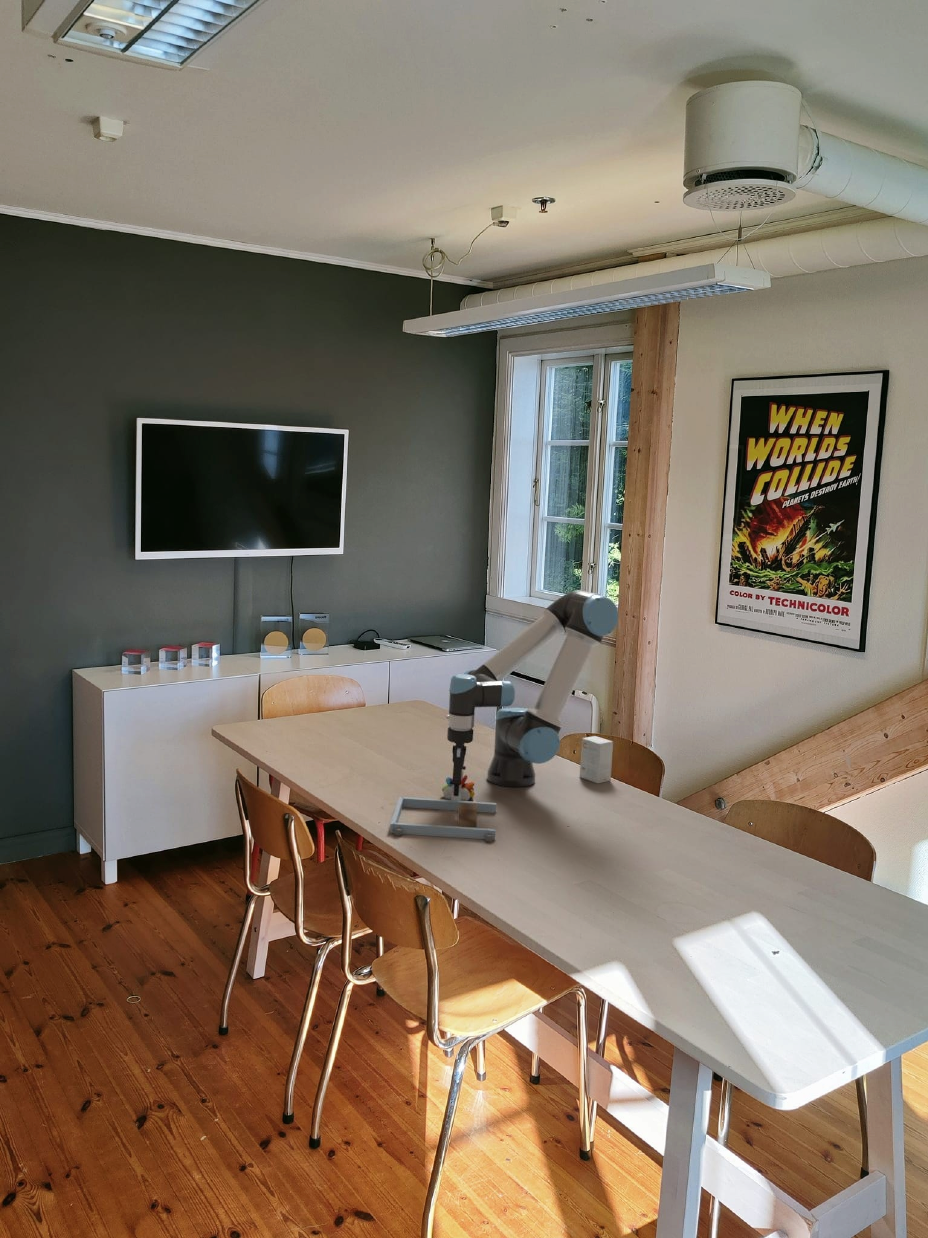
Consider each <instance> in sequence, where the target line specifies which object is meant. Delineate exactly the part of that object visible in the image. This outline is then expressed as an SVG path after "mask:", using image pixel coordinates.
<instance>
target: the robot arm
mask: <svg viewBox="0 0 928 1238" xmlns="http://www.w3.org/2000/svg"><path fill="white" fill-rule="evenodd" d="M618 623H619V611H618V608H617V606H616V604H615V603H614V601H613V600H612V599H610V598H609V597H607V596H604V595H601V594H600V593H593V592H590V591H586V590H584V589H577V590H573V591H570V592H567V593H565V594H564V595H562V596H560V597H559V598H558V599H556V600H555V601H553V602H552V603H551V604H549V606H547V607H546V608H545V609H543V612H542V615H541V616H540V617H539V618H538V619H537V620H535V621H534V622H533V623H532V624H531V625H529V626H528V627H526V629H524V630H523V631H522V632H520V633H519V634H517V636H516V637H515V638H514V639H512V640H511V641H510V642H508V643H507V644H506V645H505V646H504V647H503V648H501V649H500V650H499V651H497V652H496V653H495V654H494V655H493V656H492V657H490V658H489V659H488V660H487V661H486V662H484V663H483V664H481V665H480V666H479V667H478V668H477V669H469V670H467V671H465V672H464V673H458V674H454V675H452V677H451V678H450V682H449V683H450V684H449V698H448V699H449V701H448V705H449V707H448V715H446V717H445V718H446V719H448V720H447V721H448V723H447V726H448V727H447V735H446V736H447V737H446V739H447V741H448V742H450V743H454V744H455V745H454V744H453V745H452V763H453V768H452V779H453V780H452V782H450V784H452V793H451V800H455V801H461V780H462V779H463V777H464V771H465V770H466V769H467V767H466V766H465V765H464V764H465V759H466V758H465V757H466V755H467V745H465V744H469V743H471V742H473V740H474V727H475V715H476V713H475V711H476V708H500V709H498V710H497V713H496V717H495V731H494V750H493V751H494V752H493V756H492V759H491V762H490V764H489V767H488V769H487V775H486V776H487V777H486V779H487V780H488V781H489V782H490V783H492V784H495V785H499V786H501V787H502V786H503V787H507V788H508V787H510V788H521V787H528V786H532V785H533V784H535V783H536V773H535V767H534V764H537V765H538V764H545V763H547V762H549V761H551V760H552V759H554V757H555V756H556V755H557V754H558V752H559V749H560V747H561V740H560V735H559V733H560V731H561V729H562V723H561V717H562V715H563V714H564V713H563V712H564V710H565V708H566V706H567V704H568V702H569V700H570V698H571V695H572V693H573V692H574V689H575V687H576V684H577V683H578V680H579V678H580V676H581V674H582V671H583V670H584V667H585V666H586V663H587V661H588V659H589V656H590V655H591V652H592V650H593V648H594V647H597V646H599V645H601V643H602V641H603V639H604V637H605V636H607V635H609V634H611V633H613V632H614V630H615V629H616V627H617V625H618ZM565 633H566V637H565V639H564V641H563V644H562V645H561V647H560V650H559V652H558V653H557V656H556V659H555V660H554V663H553V665H552V667H551V669H550V671H549V673H548V676H547V678H546V680H545V682H544V685H543V686H542V688H541V691H540V692H539V694H538V697H537V699H536V702H535V703H534V706H532V707H530V708H527V707H510V706H512V705H513V704H514V701H515V697H516V690H515V686H514V684H513V683H512V682H511V681H509V680H504V679H505V678H506V677H507V676H509V675H510V674H511V673H512V672H514V671H516V670H517V668H519V667H520V666H521V665H523V663H525V662H526V661H527V660H528V659H529V658H531V657H532V656H533V655H534V654H536V653H537V652H538V651H539V650H540V649H541V648H543V647H544V646H546V644H548V643H549V642H551V641H552V640H553V639H554V638H555V637H556V636H557V635H564V634H565ZM502 707H504V708H502ZM455 779H456V780H455Z"/></svg>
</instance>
